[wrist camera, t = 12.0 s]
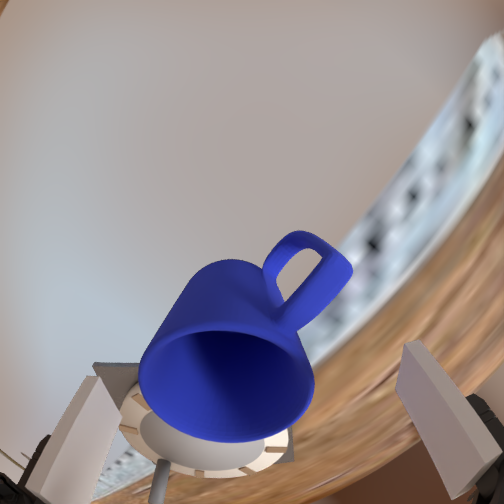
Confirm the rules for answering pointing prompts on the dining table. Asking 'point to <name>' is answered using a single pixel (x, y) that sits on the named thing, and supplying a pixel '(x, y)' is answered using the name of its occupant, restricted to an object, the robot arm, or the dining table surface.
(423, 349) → the robot arm
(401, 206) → the dining table surface
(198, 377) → the mug
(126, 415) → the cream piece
